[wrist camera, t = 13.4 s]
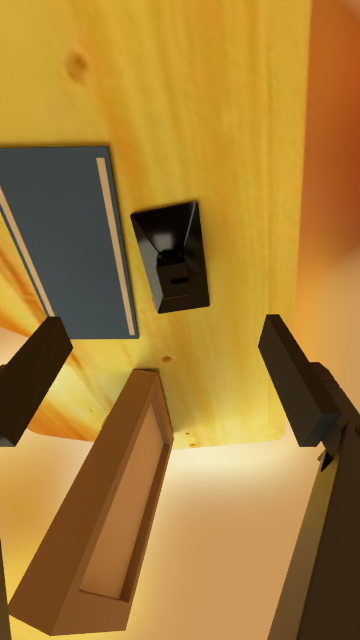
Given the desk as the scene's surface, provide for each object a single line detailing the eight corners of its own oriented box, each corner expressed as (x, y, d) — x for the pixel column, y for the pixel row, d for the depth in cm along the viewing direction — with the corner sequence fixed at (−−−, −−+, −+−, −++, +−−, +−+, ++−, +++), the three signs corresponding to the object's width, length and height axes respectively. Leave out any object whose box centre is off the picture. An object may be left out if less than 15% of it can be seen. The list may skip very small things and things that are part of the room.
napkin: (-25, 148, 19) (-29, 148, 19) (108, 146, 19) (107, 146, 19) (58, 337, 32) (57, 339, 32) (139, 337, 32) (138, 339, 31)
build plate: (209, 304, 29) (214, 325, 25) (156, 312, 29) (152, 334, 26) (197, 200, 21) (201, 207, 18) (127, 214, 22) (116, 224, 19)
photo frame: (158, 367, 36) (126, 637, 15) (174, 434, 48) (168, 631, 28) (72, 373, 37) (-67, 633, 16) (109, 437, 49) (57, 629, 29)
